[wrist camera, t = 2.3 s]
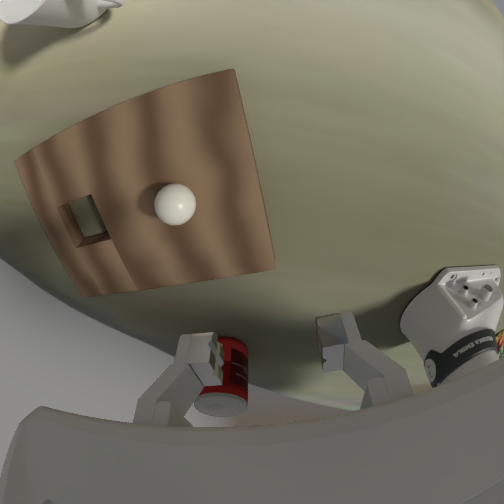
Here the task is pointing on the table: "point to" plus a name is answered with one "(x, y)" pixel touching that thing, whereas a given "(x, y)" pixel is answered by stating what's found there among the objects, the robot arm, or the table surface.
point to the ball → (175, 204)
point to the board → (155, 190)
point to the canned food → (227, 383)
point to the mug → (54, 12)
